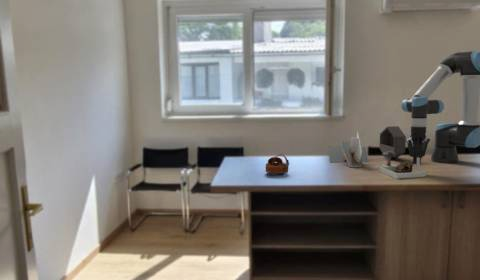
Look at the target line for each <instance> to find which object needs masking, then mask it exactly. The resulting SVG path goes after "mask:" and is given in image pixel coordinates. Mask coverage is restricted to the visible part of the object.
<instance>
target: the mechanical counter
mask: <svg viewBox="0 0 480 280" xmlns="http://www.w3.org/2000/svg"><path fill="white" fill-rule="evenodd" d="M397 166H398V167H397V168H396V171H395V173H410V172H413V170H414V164H412V163H411V161H410V160H409V159H408V160H406V161H403V162H401V163H399V164H397Z"/></svg>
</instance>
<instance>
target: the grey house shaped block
mask: <svg viewBox="0 0 480 280" xmlns="http://www.w3.org/2000/svg"><path fill="white" fill-rule="evenodd" d="M406 138H407V137H406V135H405V133H404V132H403V130H402V129H401V128H400V127H399V125H397V126H396V125H395V126H392V125H391V126H386V127H385V128H384V129H383V130H382V131H381V132H380V133H379V150H380V152H381V153H382V154H383V153H384V152H388V151H390V152H393V153H396V157H391V160H392V159H398V158H399V157H401V156H402V155H403V154H405V152H406V144H407V142H406ZM384 158H385V159H386V160H387V157H384Z"/></svg>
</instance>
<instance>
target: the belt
mask: <svg viewBox="0 0 480 280" xmlns="http://www.w3.org/2000/svg"><path fill="white" fill-rule="evenodd" d="M279 156H280V157H279ZM281 156H282V157H284V159H285V162H283V159H282V158H281ZM289 166H290V161H289V159H288V157H287V156H285V154H282V153H279V154H276V155H275V156H273V157H270V158H268V159H267V163H265V173H268V174H274V175H276V174H285V173H289Z"/></svg>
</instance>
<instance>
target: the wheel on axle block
mask: <svg viewBox="0 0 480 280" xmlns="http://www.w3.org/2000/svg"><path fill="white" fill-rule="evenodd" d="M382 157H384V158H385V157H387V159H386V164H385V163H384V164H380V167H389V166H396V165H395V164H392V163H391V161H392V159H391V157H396V153H393V152H390V151H388V152H384V153H382Z"/></svg>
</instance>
